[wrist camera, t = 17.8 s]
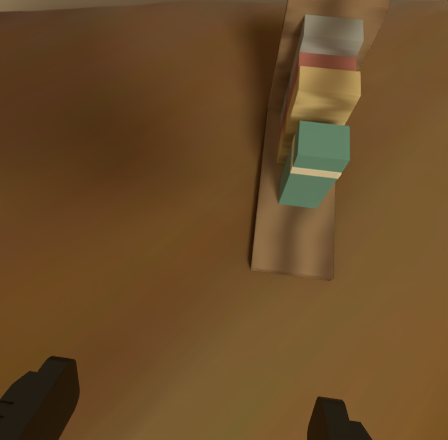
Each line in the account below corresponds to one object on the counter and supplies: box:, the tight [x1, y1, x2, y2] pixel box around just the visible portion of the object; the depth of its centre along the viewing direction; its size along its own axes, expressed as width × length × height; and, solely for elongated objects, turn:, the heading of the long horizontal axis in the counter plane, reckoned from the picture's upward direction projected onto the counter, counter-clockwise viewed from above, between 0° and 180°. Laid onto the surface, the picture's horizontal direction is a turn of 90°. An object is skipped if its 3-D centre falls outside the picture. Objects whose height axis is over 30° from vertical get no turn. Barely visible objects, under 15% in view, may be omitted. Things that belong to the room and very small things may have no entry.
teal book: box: [278, 121, 350, 209], centre depth 38 cm, size 5×4×12 cm
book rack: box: [250, 0, 390, 281], centre depth 37 cm, size 10×26×18 cm, turn 172°
